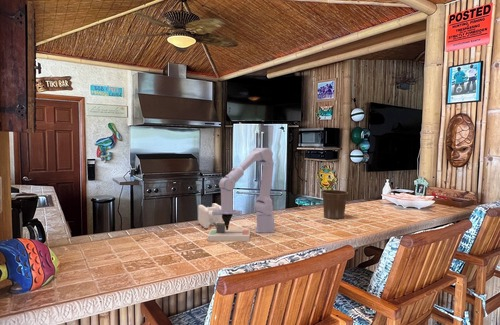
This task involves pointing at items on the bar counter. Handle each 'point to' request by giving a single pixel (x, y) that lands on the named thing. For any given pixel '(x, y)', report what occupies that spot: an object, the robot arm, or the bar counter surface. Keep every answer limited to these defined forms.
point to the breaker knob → (220, 228)
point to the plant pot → (334, 203)
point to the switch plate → (230, 235)
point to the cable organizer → (208, 215)
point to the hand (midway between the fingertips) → (227, 229)
